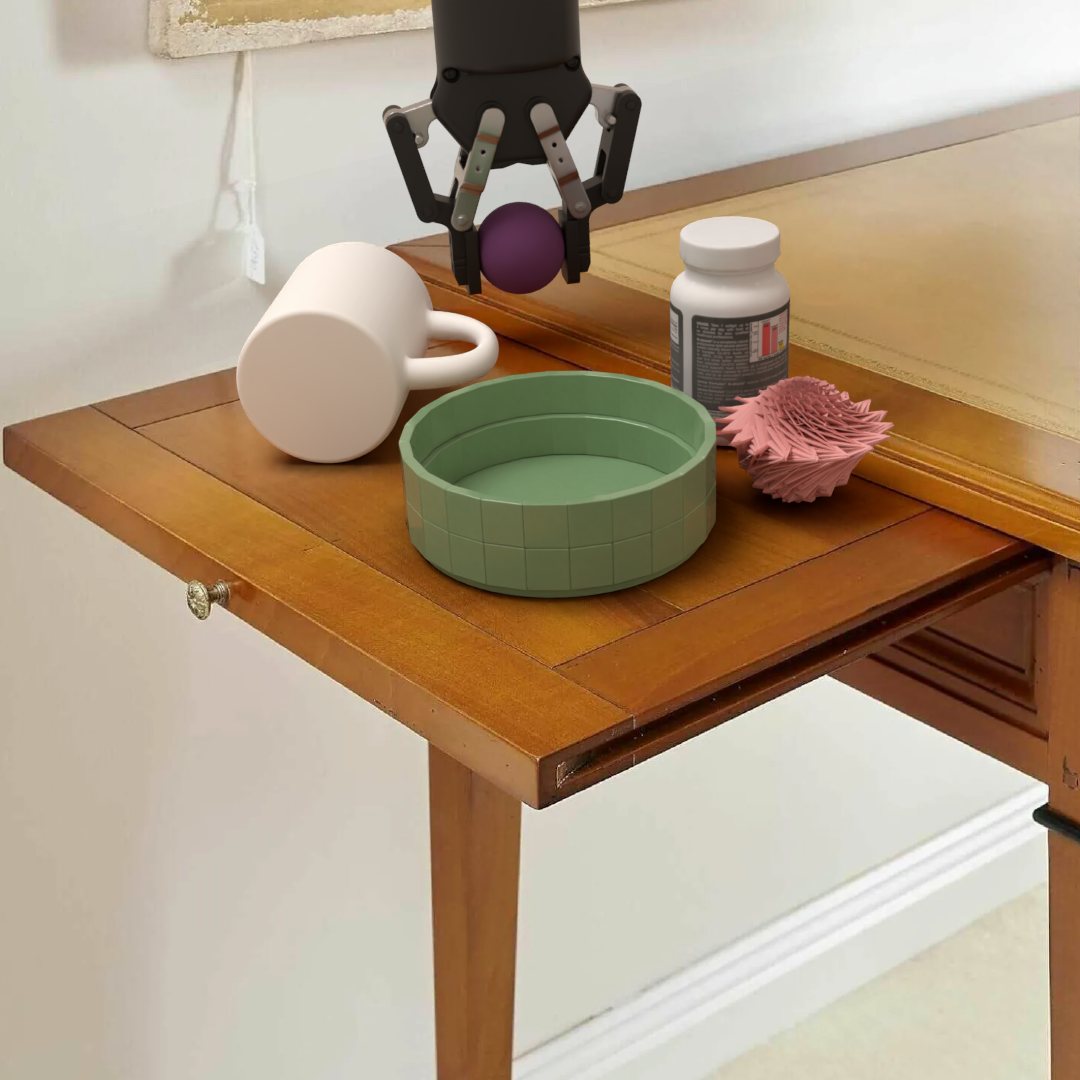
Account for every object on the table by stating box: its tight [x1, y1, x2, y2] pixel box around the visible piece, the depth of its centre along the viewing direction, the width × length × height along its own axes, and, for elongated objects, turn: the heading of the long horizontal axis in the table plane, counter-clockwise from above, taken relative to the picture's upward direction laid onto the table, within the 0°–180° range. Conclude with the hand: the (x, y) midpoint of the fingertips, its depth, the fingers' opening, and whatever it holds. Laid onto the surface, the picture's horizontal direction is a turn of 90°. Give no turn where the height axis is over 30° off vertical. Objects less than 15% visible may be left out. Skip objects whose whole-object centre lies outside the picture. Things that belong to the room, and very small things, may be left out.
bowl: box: [398, 370, 717, 599], centre depth 71 cm, size 14×14×4 cm
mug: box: [235, 241, 500, 464], centre depth 81 cm, size 12×10×8 cm
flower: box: [713, 375, 895, 504], centre depth 73 cm, size 8×8×6 cm
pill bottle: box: [669, 215, 791, 447], centre depth 78 cm, size 6×6×10 cm
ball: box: [477, 201, 565, 295], centre depth 89 cm, size 5×5×5 cm
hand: (522, 283), depth 90 cm, fingers closed on ball, 5 cm apart
